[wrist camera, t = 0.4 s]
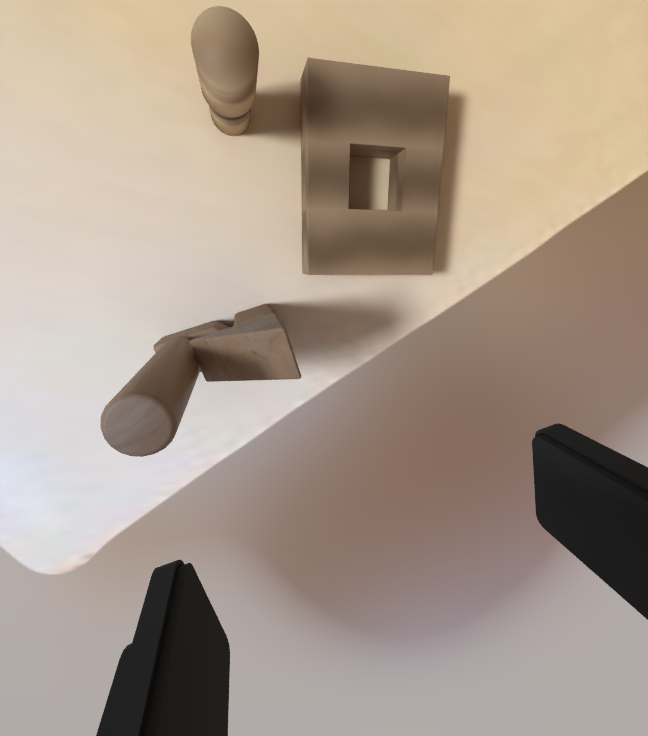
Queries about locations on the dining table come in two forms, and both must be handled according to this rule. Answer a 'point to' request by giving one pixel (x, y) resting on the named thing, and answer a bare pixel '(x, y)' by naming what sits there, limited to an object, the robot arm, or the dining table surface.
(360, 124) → the board
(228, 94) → the peg
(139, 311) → the dining table surface
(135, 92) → the dining table surface
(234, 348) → the brown jointed angular part
